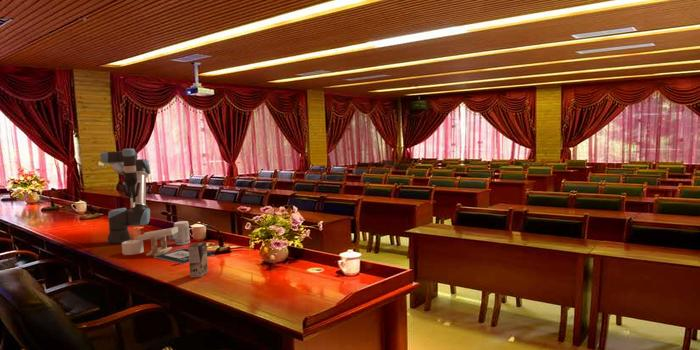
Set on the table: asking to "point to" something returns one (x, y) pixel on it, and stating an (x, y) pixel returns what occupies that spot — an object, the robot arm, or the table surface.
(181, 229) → the supplement tub
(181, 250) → the sketchbook
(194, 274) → the coffee box
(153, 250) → the chute stand
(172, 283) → the table surface
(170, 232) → the seesaw chute
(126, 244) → the cup
